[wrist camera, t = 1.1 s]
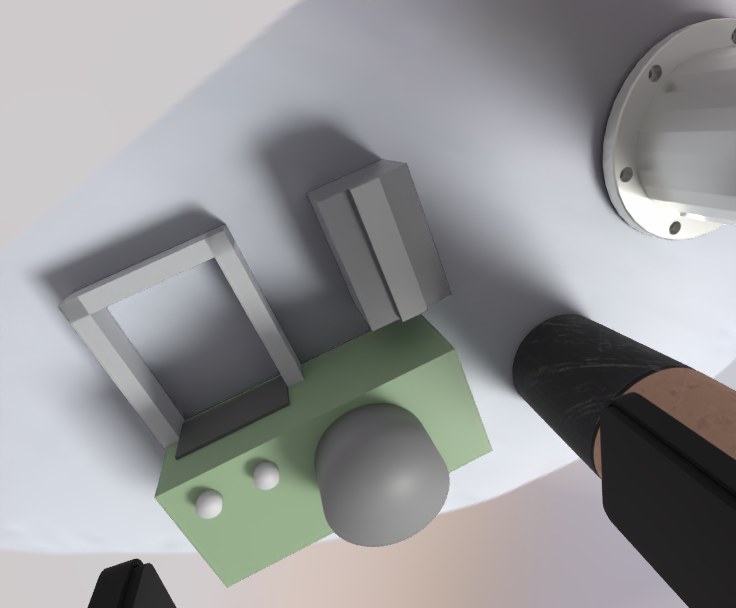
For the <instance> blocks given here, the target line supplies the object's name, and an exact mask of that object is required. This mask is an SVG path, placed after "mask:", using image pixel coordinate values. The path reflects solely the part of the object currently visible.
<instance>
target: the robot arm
mask: <svg viewBox="0 0 736 608" xmlns="http://www.w3.org/2000/svg"><path fill="white" fill-rule="evenodd" d="M603 171H604V179H605V185H606V188H607V190H608V193H609V196H610V199H611V202H612V203H613V205H614V207H615V208H616V210H617V212H618V213H619V215H620V216H621V217H622V218H623V219H624V220H625V221H626V222H627V223H628V224H629V225H630V226H631V227H633V228H635V229H636V230H638V231H640V232H641V233H644V234H647V235H650V236H654V237H657V238H661V239H666V240H687V239H692V238H695V237H699V236H702V235H705V234H707V233H709V232H711V231H713V230H715V229H717V228H719V227H721V226H722V225H724V224H726V225H731V226H736V19H732V18H720V19H710V20H706V21H703V22H699V23H695V24H691V25H688V26H686V27H684V28H682V29H679V30H677V31H675V32H673V33H671V34H670V35H668V36H667V37H665V38H664V39H663V40H661V41H660V42H658V43H657V44H656V45H654V46H653V47H652V48H651V49H650V50H649V51H648V52H647V53H646V54H645V55H644V56H643V58H642V59H641V60H640V61H639V62H638V63H637V64H636V66H635V67H634V69H633V70H632V71H631V73H630V74H629V76H628V77H627V78H626V80H625V82H624V84H623V86H622V88H621V89H620V91H619V93H618V95H617V97H616V99H615V101H614V104H613V107H612V110H611V113H610V116H609V119H608V122H607V127H606V132H605V137H604V142H603ZM599 418H600V444H601V471H602V496H603V507H604V510H605V512H606V514H607V516H608V518H609V519H610V520H611V522H612V523H613V524H614V525H615V526H616V527H617V528H618V530H619V531H620V532H621V533H622V534H623V535H624V536H625V537H626V539H627V540H628V541H629V542H630V543H631V544H632V545H633V546H634V547H635V548H636V549H637V551H638V552H639V553H640V554H641V555H642V556H643V557H644V558H645V560H646V561H647V562H648V563H649V564H650V565H651V566H652V567H653V568H654V569H655V571H656V572H657V573H658V574H659V575H660V576H661V577H662V578H663V579H664V581H665V582H666V583H667V584H668V585H669V586H670V587H671V588H672V589H673V590H674V592H676V593H677V595H678V596H679V597H680V598H681V599H682V600H683V602H684V603H685V604H686V605H687V606H688V607H689V608H736V460H735V459H734V458H732V457H731V456H729V455H728V454H726V453H725V452H723V451H722V450H721V449H719V448H718V447H716V446H715V445H713V444H712V443H710V442H709V441H707V440H706V439H704V438H703V437H702V436H700V435H699V434H697V433H696V432H694V431H693V430H691V429H690V428H688V427H687V426H685V425H684V424H683V423H681V422H680V421H678V420H677V419H675V418H674V417H672V416H671V415H669V414H668V413H666V412H665V411H664V410H662V409H661V408H659V407H658V406H656V405H655V404H653V403H652V402H650V401H649V400H647V399H646V398H645V397H643V396H642V395H640V394H638V393H636V392H630V393H627V394H624V395H621V396H618V397H615V398H612V399H609V400H607V401H606V402H605V405H604V409H602V410H601V411H600V415H599ZM88 608H176V606H175V604H174V603H173V601H172V599H171V597H170V595H169V594H168V592H167V590H166V588H165V587H164V585H163V583H162V581H161V579H160V578H159V576H158V574H157V572H156V570H155V568H154V567H153V565H152V564H150V563H147V564H143V563H142V561H141V560H139V559H133V560H130V561H127V562H124V563H121V564H118V565H116V566H112V567H109V568H106V569H104V570H103V571H102V572H101V574H100V576H99V578H98V581H97V583H96V586H95V589H94V592H93V595H92V597H91V600H90V603H89V605H88Z"/></svg>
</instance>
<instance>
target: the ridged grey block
mask: <svg viewBox="0 0 736 608" xmlns="http://www.w3.org/2000/svg"><path fill="white" fill-rule="evenodd" d="M306 194H307V196H308V198H309V201H310V203H311V205H312V207H313V210H314V212H315V214H316V216H317V219H318V221H319V223H320V226H321V228H322V230H323V232H324V235H325V237H326V239H327V241H328V244H329V246H330V248H331V251H332V253H333V255H334V257H335V260H336V262H337V264H338V266H339V269H340V271H341V273H342V275H343V278H344V280H345V282H346V285H347V287H348V289H349V291H350V294H351V296H352V298H353V300H354V303H355V305H356V306H357V308H358V309H359V311H360V312H361V314H362V316H363V317H364V319H365V320H366V322H367V323H368V325H369V326H370V328H371V330H372V331H375V330H377V329H379V328H381V327H383V326H385V325H387V324H390V323H392V322H394V321H396V320H398V319H401V320H402V321H403V322H404V321H406V320H408V319H410V318H413V317H415V316H417V315H419V314H421V313H423V312H425V311H427V310H428V309H427V306H428V305H430V304H432V303H434V302H436V301H438V300H440V299H442V298H444V297H447V296H449V295H451V291H450V288H449V285H448V282H447V279H446V277H445V274H444V271H443V268H442V265H441V262H440V259H439V256H438V253H437V250H436V247H435V244H434V242H433V239H432V236H431V233H430V230H429V227H428V224H427V221H426V218H425V215H424V212H423V209H422V206H421V204H420V201H419V198H418V195H417V192H416V189H415V186H414V183H413V180H412V177H411V174H410V171H409V169H408V166H407V163H402V162H396V161H389V160H379V161H377V162H375V163H373V164H370V165H368V166H366V167H364V168H361V169H359V170H357V171H355V172H352V173H350V174H348V175H346V176H343V177H341V178H339V179H336V180H334V181H332V182H330V183H327V184H325V185H323V186H321V187H318V188H316V189H314V190H312V191H309V192H307V193H306Z"/></svg>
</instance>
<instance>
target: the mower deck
mask: <svg viewBox="0 0 736 608" xmlns="http://www.w3.org/2000/svg"><path fill="white" fill-rule="evenodd" d="M214 257H215V259H216V261H217V262H218V264H219V266H220V268H221V270H222V271H223V273H224V275H225V277H226V278H227V280H228V282H229V284H230V285H231V287H232V289H233V291H234V293H235V294H236V296H237V298H238V300H239V301H240V303H241V305H242V307H243V308H244V310H245V312H246V314H247V316H248V317H249V319H250V321H251V323H252V324H253V326H254V328H255V330H256V331H257V333H258V335H259V337H260V339H261V340H262V342H263V344H264V346H265V347H266V349H267V351H268V353H269V354H270V356H271V358H272V360H273V362H274V363H275V365H276V367H277V369H278V370H279V372H280V375H278V376H276V377H274V378H272V379H269V380H267V381H265V382H263V383H261V384H259V385H257V386H255V387H253V388H251V389H249V390H247V391H245V392H243V393H241V394H238V395H236V396H234V397H232V398H230V399H228V400H226V401H224V402H222V403H220V404H218V405H216V406H214V407H212V408H210V409H207V410H205V411H203V412H201V413H199V414H197V415H195V416H193V417H191V418H189V419H187V420H185V419H184V418H183V416H182V415H181V414H180V412H179V411H178V409H177V408H176V406H175V405H174V404H173V402H172V401H171V399H170V398H169V396H168V395H167V394H166V392H165V391H164V389H163V388H162V386H161V385H160V384H159V382H158V381H157V379H156V378H155V376H154V375H153V374H152V372H151V371H150V369H149V368H148V366H147V365H146V364H145V362H144V361H143V359H142V358H141V356H140V355H139V354H138V352H137V351H136V349H135V348H134V346H133V345H132V344H131V342H130V341H129V339H128V338H127V336H126V335H125V334H124V332H123V331H122V329H121V328H120V326H119V325H118V324H117V322H116V321H115V319H114V318H113V316H112V315H111V314H110V312H109V311H108V309H107V308H106V307H107V306H110V305H112V304H114V303H116V302H118V301H121V300H123V299H125V298H127V297H129V296H131V295H134V294H136V293H138V292H140V291H142V290H145V289H147V288H149V287H151V286H153V285H155V284H158V283H160V282H162V281H164V280H166V279H169V278H171V277H173V276H175V275H177V274H180V273H182V272H184V271H186V270H188V269H190V268H193V267H195V266H197V265H199V264H201V263H204V262H206V261H208V260H210V259H212V258H214ZM57 307H58V308H59V309H60V311H61V312H62V313H63V315H64V316H65V317H66V319H67V320H68V321H69V323H70V324H71V325H72V327H73V328H74V329H75V331H76V332H77V333H78V335H79V336H80V337H81V339H82V340H83V341H84V343H85V344H86V345H87V347H88V348H89V349H90V351H91V352H92V353H93V355H94V356H95V357H96V359H97V360H98V361H99V363H100V364H101V365H102V367H103V368H104V369H105V371H106V372H107V373H108V375H109V376H110V377H111V379H112V380H113V381H114V383H115V384H116V385H117V387H118V388H119V389H120V391H121V392H122V393H123V395H124V396H125V397H126V399H127V400H128V401H129V403H130V404H131V405H132V407H133V408H134V409H135V411H136V412H137V413H138V415H139V416H140V417H141V419H142V420H143V422H144V423H145V424H146V426H147V427H148V428H149V430H150V431H151V432H152V434H153V435H154V436H155V438H156V439H157V440H158V442H159V443H160V444H161V446H162V447H163V448H166V447H168V448H167V452H166V456H165V459H164V463H163V467H162V471H161V475H160V478H159V482H158V486H157V490H156V493H155V497H154V498H155V499H156V500H157V501H158V503H159V504H160V505H161V506H162V508H163V509H164V510H165V511H166V513H167V514H168V515H169V516H170V518H171V519H172V520H173V521H174V523H175V524H176V525H177V526H178V527H179V529H180V530H181V531H182V532H183V534H184V535H185V536H186V537H187V539H188V540H189V541H190V542H191V544H192V545H193V546H194V547H195V549H196V550H197V551H198V552H199V554H200V555H201V556H202V557H203V559H204V560H205V561H206V562H207V564H208V565H209V566H210V567H211V568H212V570H213V571H214V572H215V573H216V575H217V576H218V577H219V578H220V580H221V581H222V582H223V583H224V584H225V586H226V587H229V586H231V585H233V584H235V583H237V582H239V581H241V580H243V579H245V578H247V577H249V576H250V575H252V574H254V573H256V572H258V571H260V570H262V569H264V568H266V567H268V566H270V565H272V564H274V563H276V562H278V561H279V560H281V559H283V558H285V557H287V556H289V555H291V554H293V553H295V552H297V551H299V550H301V549H303V548H305V547H307V546H309V545H311V544H312V543H314V542H316V541H318V540H320V539H322V538H324V537H326V536H328V535H330V534H332V533H334V532H335V533H336V534H337V535H338V536H339V537H341V538H342V539H344V540H346V541H348V542H350V543H353V544H356V545H360V546H367V547H379V546H386V545H391V544H395V543H397V542H401V541H403V540H405V539H408V538H410V537H412V536H413V535H415V534H417V533H418V532H420V531H421V530H422V529H424V528H425V527H426V526H427V525H428V524H429V523H430V522H431V521H432V520H433V519H434V518H435V517H436V516H437V514H438V513H439V512H440V510H441V508H442V507H443V505H444V503H445V500H446V498H447V495H448V491H449V473H450V472H452V471H454V470H456V469H458V468H460V467H462V466H464V465H465V464H467V463H469V462H471V461H473V460H475V459H477V458H479V457H481V456H483V455H485V454H487V453H489V452H491V451H493V450H492V447H491V445H490V442H489V439H488V436H487V434H486V431H485V428H484V426H483V423H482V420H481V417H480V415H479V412H478V409H477V407H476V404H475V401H474V399H473V396H472V393H471V390H470V388H469V385H468V382H467V380H466V377H465V374H464V372H463V369H462V366H461V363H460V361H459V358H458V355H457V353H456V350H455V348H454V347H453V346H452V345H451V344H450V343H449V342H448V341H447V340H446V339H445V338H444V337H443V336H442V335H441V334H440V333H439V332H438V331H437V330H436V329H435V328H434V327H433V326H432V325H431V324H430V323H429V322H428V321H427V320H426V319H425V318H424V317H423V316H422V315H421V314H419V315H417V316H415V317H413V318H410V319H408V320H406V321H404V322H403V321H402V320H401V319H398V320H396V321H394V322H392V323H390V324H387V325H385V326H383V327H381V328H379V329H377V330H375V331H372V330H371V331H369V332H367V333H365V334H363V335H360V336H358V337H356V338H354V339H352V340H350V341H348V342H346V343H344V344H342V345H340V346H338V347H336V348H334V349H332V350H329V351H327V352H325V353H323V354H321V355H319V356H317V357H315V358H313V359H311V360H309V361H307V362H305V363H303V364H301V363H300V362H299V360H298V358H297V356H296V354H295V352H294V350H293V349H292V347H291V345H290V343H289V341H288V339H287V337H286V335H285V334H284V332H283V330H282V328H281V326H280V324H279V322H278V321H277V319H276V317H275V315H274V313H273V311H272V309H271V308H270V306H269V304H268V302H267V300H266V298H265V296H264V295H263V293H262V291H261V289H260V287H259V285H258V283H257V282H256V280H255V278H254V276H253V274H252V272H251V270H250V269H249V267H248V265H247V263H246V261H245V259H244V257H243V256H242V254H241V252H240V250H239V248H238V246H237V244H236V242H235V241H234V239H233V237H232V235H231V233H230V231H229V229H228V228H227V226H226V224H224V225H221V226H219V227H217V228H215V229H213V230H210V231H208V232H206V233H204V234H201V235H199V236H197V237H195V238H193V239H190V240H188V241H186V242H184V243H182V244H179V245H177V246H175V247H173V248H171V249H168V250H166V251H164V252H162V253H160V254H157V255H155V256H153V257H151V258H148V259H146V260H144V261H142V262H140V263H137V264H135V265H133V266H131V267H129V268H126V269H124V270H122V271H120V272H118V273H115V274H113V275H111V276H109V277H106V278H104V279H102V280H100V281H98V282H95V283H93V284H91V285H89V286H87V287H84V288H82V289H80V290H78V291H76V292H73V293H71V294H70V295H69V296H68V297H67V298H66V299H65V300H63V301H62V302H61V303H60V304H59V305H58V306H57Z"/></svg>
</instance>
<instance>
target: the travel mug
mask: <svg viewBox="0 0 736 608" xmlns="http://www.w3.org/2000/svg"><path fill="white" fill-rule="evenodd" d="M513 378H514V383H515V386H516V388H517V390H518V392H519V394H520V395H521V396H522V397H523V399H524V400H525V401H526V402H527V403H528V404H529V405H530V406H531V407H532V408H533V409H534V410H535V412H536V413H537V414H538V415H539V416H540V417H541V418H542V419H543V420H544V421H545V422H546V423H547V424H548V425H549V426H550V427H551V428H552V429H553V430H554V431H555V432H556V433H557V434H558V435H559V436H560V437H561V438H562V439H563V440H564V441H565V443H566V444H567V445H568V446H569V447H570V448H571V449H572V450H573V451H574V452H575V453H576V454H577V455H578V456H579V457H580V458H581V459H582V460H583V461H584V462H585V463H586V464H587V465H588V466H589V467H590V468H591V469H592V470H593V471H594V472H595V474H597V476H598V477H600V478H601V479H602V471H601V444H600V418H599V415H600V411H601V410H602V409H604V405H605V402H606V401H607V400H609V399H612V398H615V397H618V396H621V395H624V394H627V393H630V392H636V393H638V394H640V395H642V396H643V397H645V398H646V399H647V400H649V401H650V402H652V403H653V404H655V405H656V406H658V407H659V408H661V409H662V410H664V411H665V412H666V413H668V414H669V415H671V416H672V417H674V418H675V419H677V420H678V421H680V422H681V423H683V424H684V425H685V426H687V427H688V428H690V429H691V430H693V431H694V432H696V433H697V434H699V435H700V436H702V437H703V438H704V439H706V440H707V441H709V442H710V443H712V444H713V445H715V446H716V447H718V448H719V449H721V450H722V451H723V452H725V453H726V454H728V455H729V456H731V457H732V458H734V459H735V460H736V391H735V390H733V389H731V388H729V387H727V386H725V385H723V384H722V383H719V382H718V381H716V380H714V379H712V378H710V377H709V376H707V375H705V374H703V373H701V372H699V371H696V370H695V369H693V368H691V367H689V366H687V365H685V364H682V363H680V362H678V361H676V360H674V359H672V358H670V357H668V356H666V355H664V354H662V353H659V352H657V351H655V350H653V349H651V348H649V347H647V346H645V345H643V344H641V343H639V342H636V341H634V340H632V339H630V338H628V337H626V336H624V335H622V334H620V333H618V332H616V331H614V330H611V329H609V328H607V327H605V326H603V325H601V324H599V323H596V322H594V321H592V320H590V319H587V318H585V317H582V316H578V315H561V316H557V317H554V318H551V319H549V320H547V321H545V322H543V323H542V324H540V325H539V326H537V327H536V328H535V329H534V330H533V331H532V332H531V333H530V334H529V335H528V336H527V337H526V338H525V339H524V341H523V342H522V344H521V346H520V347H519V349H518V351H517V354H516V357H515V360H514V365H513Z"/></svg>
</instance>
